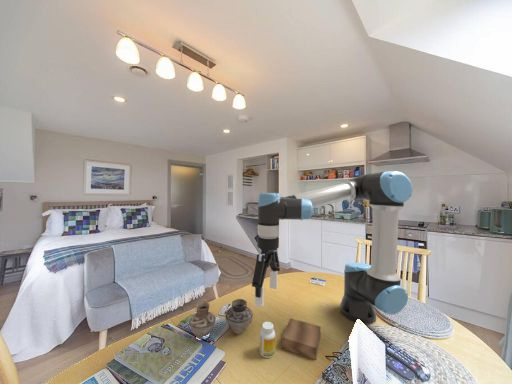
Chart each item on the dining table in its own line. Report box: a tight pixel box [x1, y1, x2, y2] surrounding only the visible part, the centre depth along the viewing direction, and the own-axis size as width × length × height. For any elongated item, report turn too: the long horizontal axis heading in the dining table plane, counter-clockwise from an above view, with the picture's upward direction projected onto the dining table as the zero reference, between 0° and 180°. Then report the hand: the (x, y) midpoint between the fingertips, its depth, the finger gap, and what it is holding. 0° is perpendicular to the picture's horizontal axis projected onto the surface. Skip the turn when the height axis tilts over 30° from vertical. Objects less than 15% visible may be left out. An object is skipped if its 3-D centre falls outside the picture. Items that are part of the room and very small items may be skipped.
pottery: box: [188, 298, 254, 339], centre depth 81 cm, size 11×25×12 cm, turn 108°
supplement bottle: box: [259, 321, 276, 359], centre depth 71 cm, size 5×5×10 cm
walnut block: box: [281, 318, 322, 360], centre depth 76 cm, size 12×12×4 cm
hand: (266, 296), depth 72 cm, fingers open, 13 cm apart
